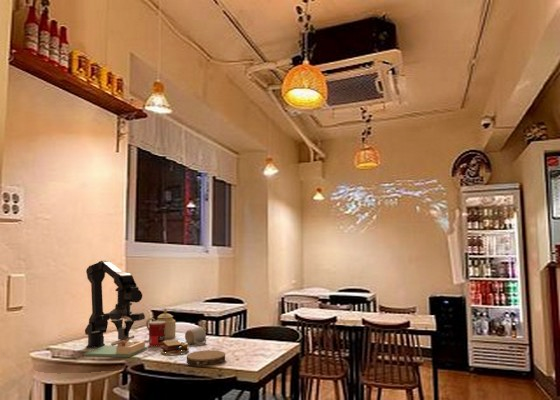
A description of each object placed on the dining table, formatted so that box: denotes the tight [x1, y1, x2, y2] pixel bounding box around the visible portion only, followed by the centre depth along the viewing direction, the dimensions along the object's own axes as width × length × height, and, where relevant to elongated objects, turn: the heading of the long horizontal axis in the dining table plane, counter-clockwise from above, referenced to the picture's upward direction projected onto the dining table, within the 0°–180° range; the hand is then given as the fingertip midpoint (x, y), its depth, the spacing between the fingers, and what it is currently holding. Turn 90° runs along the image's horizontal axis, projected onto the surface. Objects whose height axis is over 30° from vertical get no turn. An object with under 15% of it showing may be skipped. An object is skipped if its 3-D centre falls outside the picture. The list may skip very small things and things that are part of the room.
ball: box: [125, 340, 134, 346], centre depth 206 cm, size 4×4×4 cm
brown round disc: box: [186, 349, 226, 367], centre depth 188 cm, size 16×16×3 cm
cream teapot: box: [145, 308, 177, 340], centre depth 241 cm, size 15×11×15 cm
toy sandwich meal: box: [160, 339, 190, 355], centre depth 206 cm, size 12×14×5 cm
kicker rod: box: [110, 326, 136, 346], centre depth 207 cm, size 3×17×10 cm, turn 167°
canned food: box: [148, 320, 166, 347], centre depth 223 cm, size 8×8×11 cm
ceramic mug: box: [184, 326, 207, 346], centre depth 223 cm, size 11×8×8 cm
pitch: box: [83, 340, 148, 358], centre depth 207 cm, size 22×16×4 cm
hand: (123, 335), depth 207 cm, fingers closed on kicker rod, 3 cm apart
